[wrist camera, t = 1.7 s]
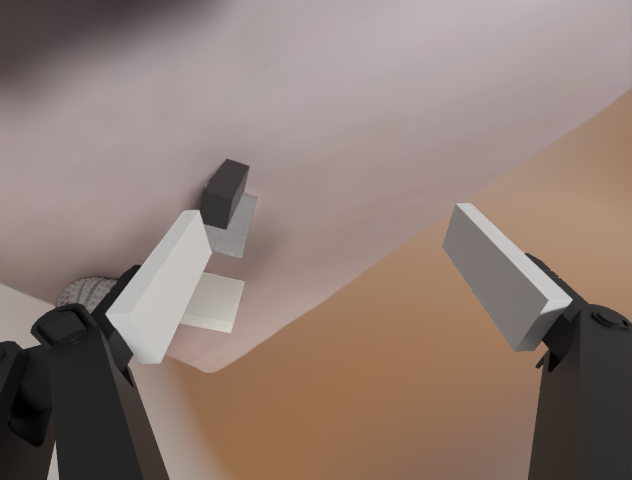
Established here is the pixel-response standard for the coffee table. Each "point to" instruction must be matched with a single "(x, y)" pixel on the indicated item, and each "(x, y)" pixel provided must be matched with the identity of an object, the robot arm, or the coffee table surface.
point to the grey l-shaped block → (227, 209)
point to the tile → (214, 303)
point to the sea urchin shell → (86, 292)
